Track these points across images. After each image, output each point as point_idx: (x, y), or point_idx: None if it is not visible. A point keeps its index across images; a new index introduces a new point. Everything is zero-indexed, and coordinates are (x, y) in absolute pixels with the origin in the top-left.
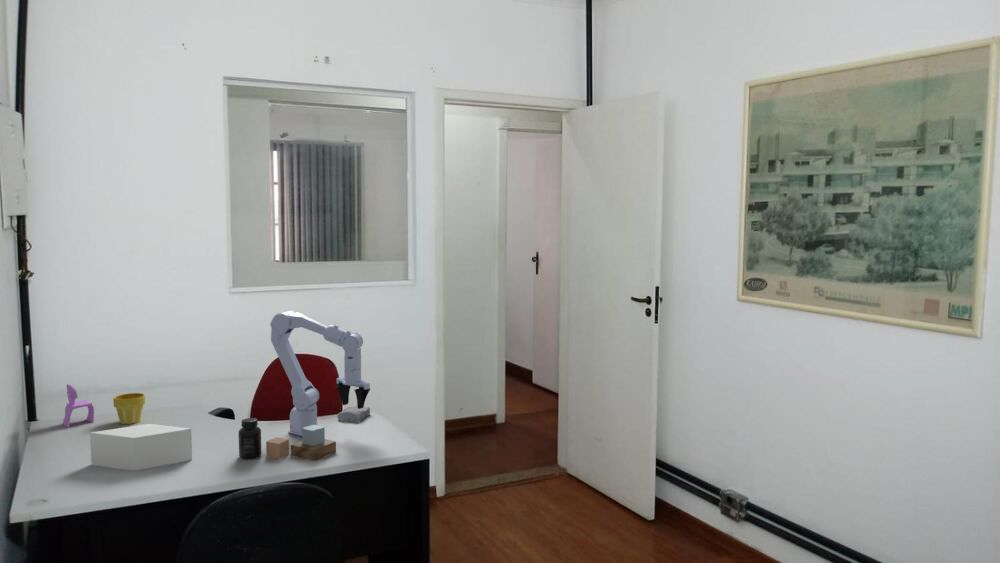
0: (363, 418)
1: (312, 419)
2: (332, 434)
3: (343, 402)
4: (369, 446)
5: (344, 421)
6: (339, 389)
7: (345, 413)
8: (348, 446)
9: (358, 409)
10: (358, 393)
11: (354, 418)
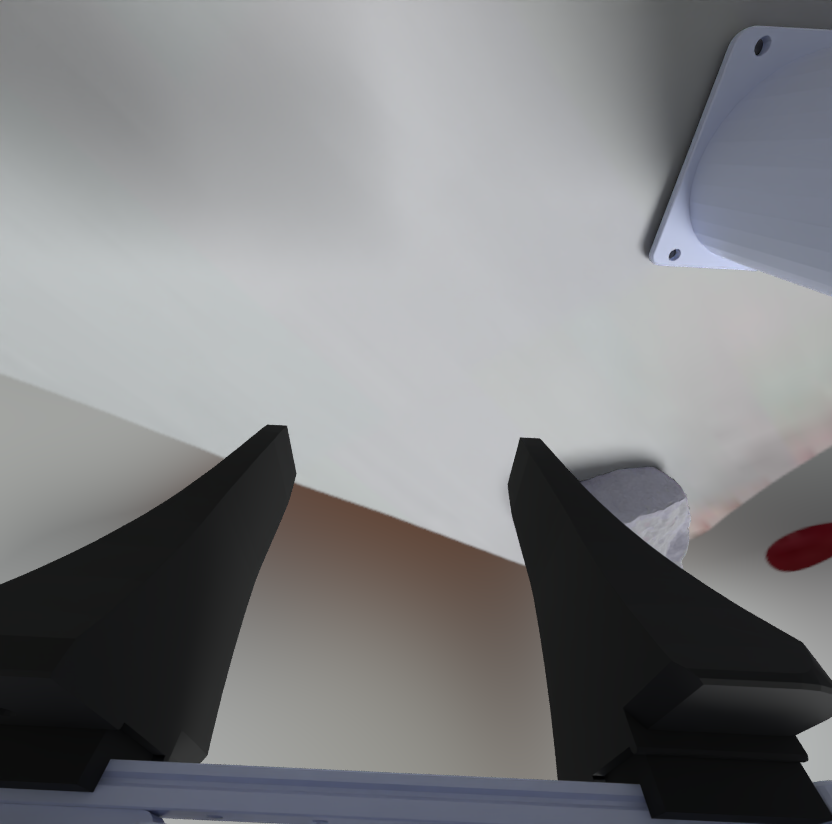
0: None
1: (807, 152)
2: (547, 263)
3: (529, 457)
4: (134, 207)
5: (617, 470)
6: (665, 615)
7: (634, 510)
8: (232, 95)
9: None
10: (25, 586)
11: None
